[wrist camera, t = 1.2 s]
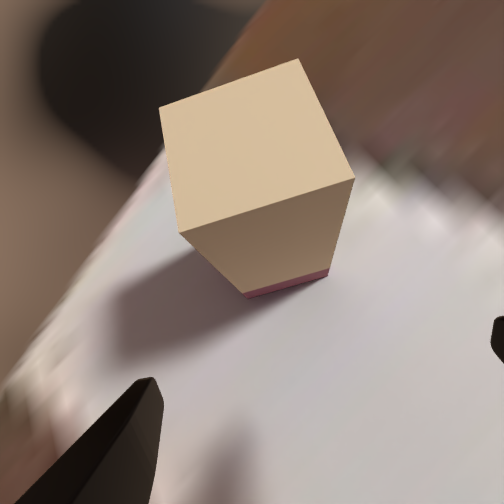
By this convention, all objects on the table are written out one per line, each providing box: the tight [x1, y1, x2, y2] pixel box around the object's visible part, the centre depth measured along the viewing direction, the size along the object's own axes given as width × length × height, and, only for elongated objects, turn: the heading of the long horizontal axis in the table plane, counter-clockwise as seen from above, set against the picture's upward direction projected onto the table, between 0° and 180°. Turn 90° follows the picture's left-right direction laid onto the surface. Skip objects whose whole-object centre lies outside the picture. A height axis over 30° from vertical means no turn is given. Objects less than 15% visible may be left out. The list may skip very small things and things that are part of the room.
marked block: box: [159, 59, 355, 299], centre depth 16 cm, size 6×6×12 cm
